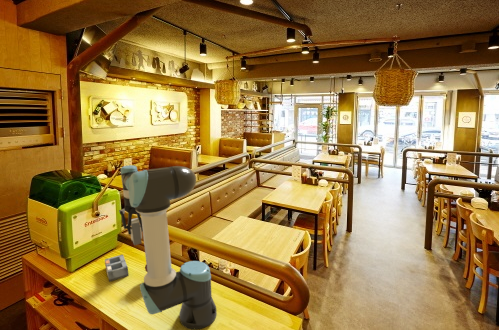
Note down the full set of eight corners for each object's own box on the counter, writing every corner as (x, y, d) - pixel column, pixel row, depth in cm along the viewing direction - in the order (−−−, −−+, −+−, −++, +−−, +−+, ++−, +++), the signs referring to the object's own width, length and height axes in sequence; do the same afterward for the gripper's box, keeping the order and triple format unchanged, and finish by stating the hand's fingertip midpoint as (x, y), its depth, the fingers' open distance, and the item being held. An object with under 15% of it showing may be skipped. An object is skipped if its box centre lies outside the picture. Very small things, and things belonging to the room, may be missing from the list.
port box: (128, 275, 146) (127, 266, 144) (108, 281, 141) (107, 272, 140) (123, 262, 157) (122, 253, 156) (105, 267, 152) (104, 259, 151)
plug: (141, 243, 148) (139, 220, 145) (134, 245, 147) (131, 222, 143) (140, 240, 152) (137, 217, 148) (132, 242, 150) (130, 219, 146)
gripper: (147, 191, 150) (151, 231, 156) (112, 197, 142) (118, 239, 147) (150, 195, 144) (154, 237, 149) (114, 201, 135) (120, 246, 141)
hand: (136, 238), depth 148 cm, fingers closed on plug, 4 cm apart
